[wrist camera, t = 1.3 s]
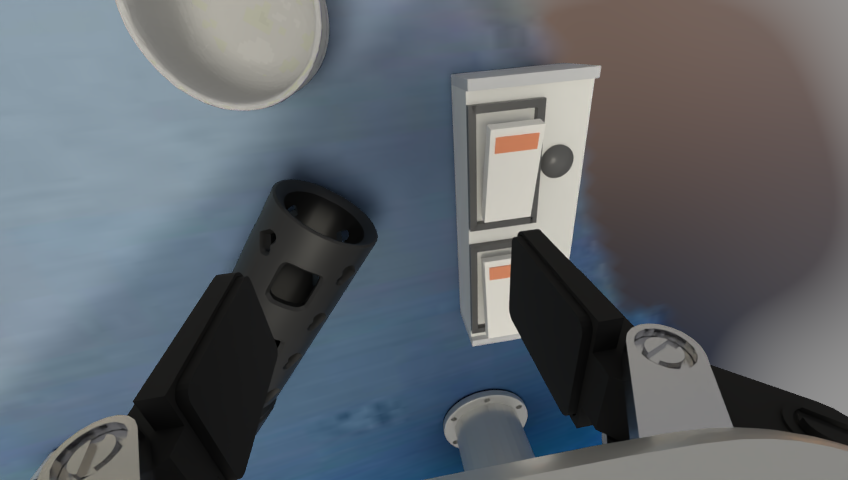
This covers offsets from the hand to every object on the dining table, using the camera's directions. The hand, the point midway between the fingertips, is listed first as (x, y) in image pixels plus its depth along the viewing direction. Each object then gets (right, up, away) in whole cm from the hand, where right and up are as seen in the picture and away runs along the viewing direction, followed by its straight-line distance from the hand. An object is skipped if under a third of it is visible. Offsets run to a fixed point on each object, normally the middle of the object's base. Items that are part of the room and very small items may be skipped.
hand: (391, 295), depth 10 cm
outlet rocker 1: (+8, +8, +18) cm, 21 cm away
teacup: (-10, +19, +16) cm, 27 cm away
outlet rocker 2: (+9, -3, +24) cm, 26 cm away
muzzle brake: (-15, -4, +28) cm, 32 cm away
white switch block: (+9, +5, +26) cm, 28 cm away
